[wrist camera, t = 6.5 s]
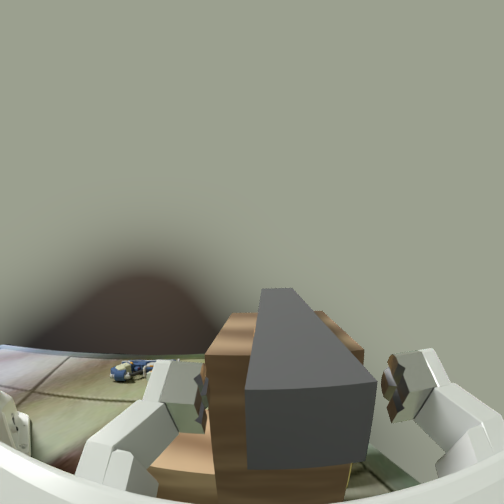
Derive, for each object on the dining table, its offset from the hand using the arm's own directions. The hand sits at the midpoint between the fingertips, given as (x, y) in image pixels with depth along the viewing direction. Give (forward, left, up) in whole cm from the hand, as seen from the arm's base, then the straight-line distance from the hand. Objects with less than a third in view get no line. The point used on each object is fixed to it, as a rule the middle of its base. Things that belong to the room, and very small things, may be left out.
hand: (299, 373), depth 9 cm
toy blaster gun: (-73, +4, -28) cm, 78 cm away
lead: (-8, +5, -2) cm, 9 cm away
